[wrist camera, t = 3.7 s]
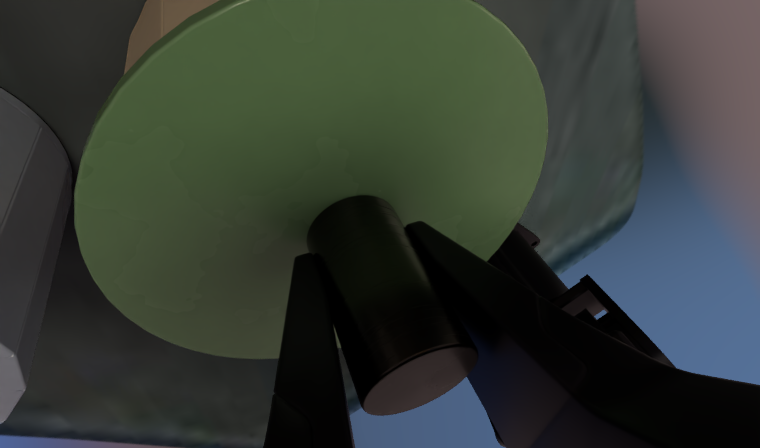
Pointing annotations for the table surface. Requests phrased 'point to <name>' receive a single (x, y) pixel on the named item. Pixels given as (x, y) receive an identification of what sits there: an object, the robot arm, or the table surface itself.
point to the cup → (27, 236)
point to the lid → (312, 178)
